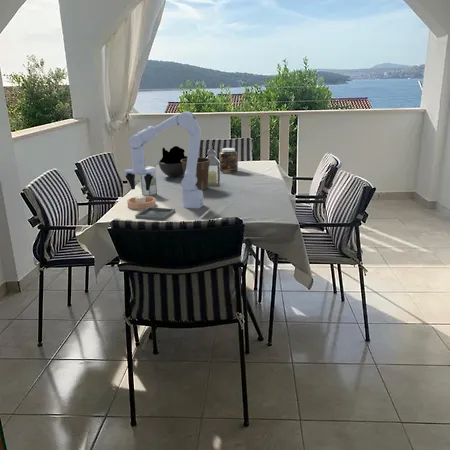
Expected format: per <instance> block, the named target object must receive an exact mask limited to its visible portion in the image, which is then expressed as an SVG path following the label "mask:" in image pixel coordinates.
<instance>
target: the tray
mask: <svg viewBox="0 0 450 450" xmlns="http://www.w3.org/2000/svg"><path fill="white" fill-rule="evenodd" d="M174 213H176V208H166V207H156V206H154V207H148V208H146V209H142V210H141V211H140V212H139V213H137V214H135V219H142V220H153V221H154V220H155V221H157V220H158V221H165V220H166V219H168V218H169V217H170V216H171V215H173V214H174Z"/></svg>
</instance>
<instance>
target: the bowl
mask: <svg viewBox="0 0 450 450" xmlns="http://www.w3.org/2000/svg"><path fill="white" fill-rule="evenodd" d="M143 196H144V197H146V203H136V199H135V198H136V197H137V196H135V197H134V196H133V197H130V198H128V199H127V200H126V201H127V208H129V209H131V210H145V209H146V208H148V207H156V206H157V205H156V204H157V203H156V198H155V197H153V196H147V195H143Z"/></svg>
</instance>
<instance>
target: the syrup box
mask: <svg viewBox="0 0 450 450" xmlns="http://www.w3.org/2000/svg"><path fill="white" fill-rule="evenodd" d="M145 170H152V171H154V175H153V178H152V180H151V184H150V190H148V191H146V183H145V179H144V176H146V175H140V186H141V196H149V197H152V196H154V195H157V194H158V193H157V192H158V191H157V189H158V188H157V187H158V186H157V172H156V171H157V169H156V167H154V166H149V165H148V166H145Z"/></svg>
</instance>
